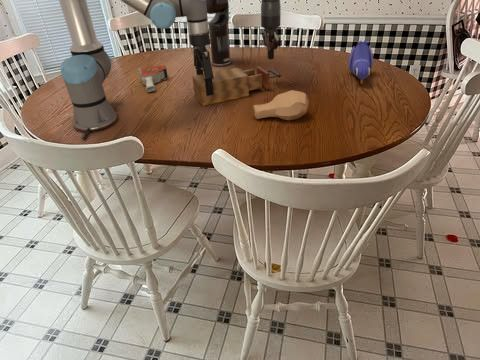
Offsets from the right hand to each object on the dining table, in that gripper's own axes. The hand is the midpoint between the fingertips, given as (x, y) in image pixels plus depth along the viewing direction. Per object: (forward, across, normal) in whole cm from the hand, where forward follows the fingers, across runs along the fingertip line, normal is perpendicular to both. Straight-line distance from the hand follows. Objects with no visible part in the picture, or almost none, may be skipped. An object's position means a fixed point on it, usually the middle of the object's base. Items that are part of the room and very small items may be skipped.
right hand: (270, 58), depth 147 cm
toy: (+12, -11, -37) cm, 41 cm away
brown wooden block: (+12, 0, +23) cm, 25 cm away
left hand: (+8, 0, +29) cm, 30 cm away
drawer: (+11, 0, +10) cm, 14 cm away
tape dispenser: (+12, +29, +46) cm, 56 cm away
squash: (+12, -29, +10) cm, 33 cm away
